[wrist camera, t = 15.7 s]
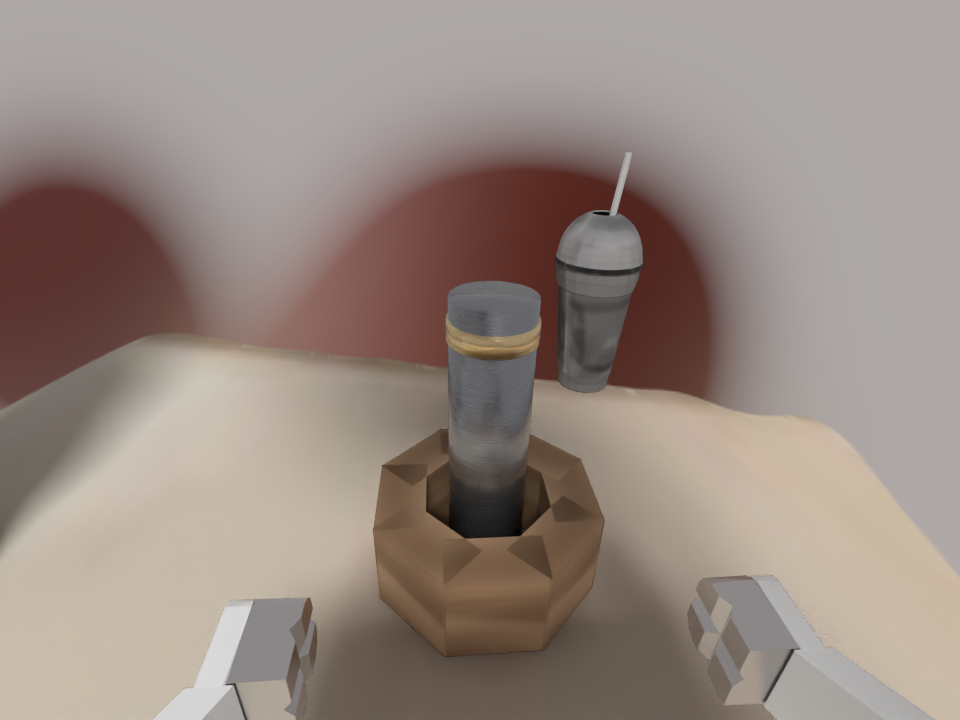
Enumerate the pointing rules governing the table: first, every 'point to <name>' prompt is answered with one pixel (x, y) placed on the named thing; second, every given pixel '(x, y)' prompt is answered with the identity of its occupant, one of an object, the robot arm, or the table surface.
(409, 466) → the wooden octagonal ring
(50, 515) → the table surface
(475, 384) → the gold-banded metal cylinder
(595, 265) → the beverage cup
